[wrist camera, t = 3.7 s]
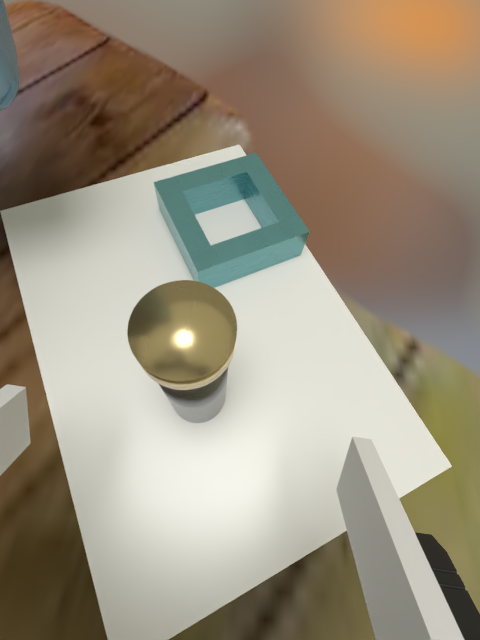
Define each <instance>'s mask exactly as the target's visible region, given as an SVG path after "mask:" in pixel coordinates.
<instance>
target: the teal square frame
mask: <svg viewBox="0 0 480 640" xmlns="http://www.w3.org/2000/svg"><path fill="white" fill-rule="evenodd" d="M154 187H155V192H156V196H157V201H158V205H159V210H160V212H161V214H162V216H163V218H164V220H165V222H166V224H167V226H168V228H169V230H170V233H171V235H172V237H173V239H174V241H175V243H176V245H177V247H178V249H179V251H180V253H181V255H182V257H183V259H184V262H185V264H186V266H187V268H188V270H189V272H190V274H191V276H192V278H193V280H194V281H198V282H201V283H205V284H207V285H209V286H211V287H213V288H215V287H218V286H221V285H223V284H226V283H229V282H231V281H234V280H237V279H239V278H242V277H245V276H247V275H250V274H252V273H255V272H258V271H260V270H263V269H266V268H268V267H271V266H274V265H276V264H279V263H282V262H284V261H287V260H290V259H292V258H295V257H298V256H300V255H301V253H302V251H303V248H304V245H305V242H306V240H307V237H308V235H309V230H308V229H307V227H306V226H305V224H304V223H303V221H302V220H301V218H300V217H299V215H298V214H297V212H296V211H295V209H294V208H293V206H292V205H291V204H290V203H289V201H288V199H287V198H286V196H285V195H284V193H283V192H282V190H281V189H280V187H279V186H278V184H277V183H276V181H275V180H274V179H273V177H272V176H271V174H270V173H269V171H268V170H267V168H266V167H265V165H264V164H263V163H262V161H261V159H260V158H259V156H258V155H257V153H253V154H250V155H246V156H243V157H239V158H236V159H233V160H229V161H226V162H222V163H219V164H215V165H212V166H208V167H205V168H201V169H198V170H194V171H191V172H187V173H184V174H180V175H177V176H173V177H170V178H166V179H163V180H159V181H156V182H154ZM243 199H244V200H245V201H246V203H247V205H248V206H249V208H250V209H251V211H252V213H253V214H254V216H255V218H256V219H257V221H258V222H259V224H260V226H261V227H262V228H260V229H257V230H254V231H251V232H248V233H246V234H243V235H240V236H237V237H234V238H231V239H228V240H225V241H222V242H219V243H217V244H214V245H210V243H209V241H208V239H207V238H206V236H205V234H204V232H203V230H202V228H201V226H200V224H199V222H198V221H197V219H196V217H195V215H196V214H199V213H202V212H205V211H208V210H211V209H215V208H218V207H221V206H224V205H227V204H230V203H233V202H237V201H240V200H243Z"/></svg>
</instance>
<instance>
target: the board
mask: <svg viewBox="0 0 480 640" xmlns="http://www.w3.org/2000/svg"><path fill="white" fill-rule="evenodd" d="M243 156H246V154H245V153H244V151H243V150H242V148H241V147H240V145H236V146H232V147H229V148H225V149H222V150H218V151H214V152H211V153H207V154H204V155H200V156H196V157H193V158H189V159H186V160H182V161H178V162H175V163H171V164H168V165H164V166H160V167H157V168H153V169H150V170H146V171H142V172H139V173H135V174H132V175H128V176H124V177H121V178H117V179H114V180H110V181H106V182H103V183H99V184H96V185H92V186H88V187H85V188H81V189H78V190H74V191H70V192H67V193H63V194H60V195H56V196H52V197H49V198H45V199H42V200H38V201H34V202H31V203H27V204H24V205H20V206H16V207H13V208H9V209H6V210H2V211H0V212H1V216H2V220H3V224H4V228H5V232H6V236H7V240H8V244H9V248H10V252H11V256H12V260H13V264H14V268H15V272H16V276H17V280H18V284H19V288H20V292H21V296H22V300H23V304H24V308H25V312H26V316H27V320H28V324H29V328H30V332H31V336H32V340H33V344H34V348H35V352H36V356H37V360H38V364H39V368H40V372H41V376H42V380H43V384H44V387H45V391H46V395H47V399H48V403H49V407H50V411H51V415H52V419H53V423H54V427H55V431H56V435H57V439H58V443H59V447H60V451H61V455H62V459H63V463H64V467H65V471H66V475H67V479H68V483H69V487H70V491H71V495H72V499H73V503H74V507H75V511H76V515H77V519H78V523H79V527H80V531H81V535H82V539H83V543H84V547H85V551H86V555H87V559H88V563H89V567H90V571H91V575H92V579H93V583H94V587H95V591H96V595H97V599H98V603H99V607H100V611H101V615H102V619H103V623H104V627H105V631H106V635H107V639H108V640H169V639H170V638H172V637H173V636H175V635H177V634H178V633H180V632H182V631H183V630H185V629H187V628H188V627H190V626H191V625H193V624H195V623H196V622H198V621H200V620H201V619H203V618H204V617H206V616H208V615H209V614H211V613H213V612H214V611H216V610H218V609H219V608H221V607H222V606H224V605H226V604H227V603H229V602H231V601H232V600H234V599H236V598H237V597H239V596H240V595H242V594H244V593H245V592H247V591H249V590H250V589H252V588H254V587H255V586H257V585H258V584H260V583H262V582H263V581H265V580H267V579H268V578H270V577H271V576H273V575H275V574H276V573H278V572H280V571H281V570H283V569H285V568H286V567H288V566H289V565H291V564H293V563H294V562H296V561H298V560H299V559H301V558H303V557H304V556H306V555H307V554H309V553H311V552H312V551H314V550H316V549H317V548H319V547H321V546H322V545H324V544H325V543H327V542H329V541H330V540H332V539H334V538H335V537H337V536H338V535H340V534H342V533H343V532H345V531H347V529H346V525H345V521H344V518H343V514H342V510H341V506H340V502H339V498H338V495H337V491H336V488H337V485H338V482H339V479H340V475H341V472H342V469H343V465H344V462H345V459H346V455H347V452H348V449H349V446H350V442H351V439H352V436H353V437H360V438H366V439H372V442H373V444H374V446H375V448H376V450H377V452H378V455H379V457H380V459H381V461H382V463H383V465H384V467H385V470H386V472H387V474H388V476H389V478H390V480H391V483H392V485H393V487H394V489H395V491H396V493H397V495H398V498H401V497H402V496H404V495H405V494H407V493H409V492H410V491H412V490H414V489H415V488H417V487H419V486H420V485H422V484H423V483H425V482H427V481H428V480H430V479H432V478H433V477H435V476H437V475H438V474H440V473H441V472H443V471H445V470H446V469H448V468H450V467H451V464H450V463H449V461H448V460H447V458H446V457H445V455H444V454H443V452H442V451H441V449H440V447H439V446H438V444H437V443H436V441H435V440H434V438H433V437H432V435H431V434H430V432H429V431H428V429H427V428H426V426H425V425H424V423H423V422H422V420H421V419H420V417H419V416H418V414H417V413H416V411H415V410H414V408H413V407H412V405H411V404H410V402H409V401H408V399H407V398H406V396H405V395H404V393H403V392H402V390H401V389H400V387H399V385H398V384H397V382H396V381H395V379H394V378H393V376H392V375H391V373H390V372H389V370H388V369H387V367H386V366H385V364H384V363H383V361H382V360H381V358H380V357H379V355H378V354H377V352H376V351H375V349H374V348H373V346H372V345H371V343H370V342H369V340H368V339H367V337H366V336H365V334H364V333H363V331H362V330H361V328H360V327H359V325H358V323H357V322H356V320H355V319H354V317H353V316H352V314H351V313H350V311H349V310H348V308H347V307H346V305H345V304H344V302H343V301H342V299H341V298H340V296H339V295H338V293H337V292H336V290H335V289H334V287H333V286H332V284H331V283H330V281H329V280H328V278H327V277H326V275H325V274H324V272H323V271H322V269H321V268H320V266H319V265H318V263H317V262H316V260H315V258H314V257H313V255H312V254H311V252H310V251H309V250H308V248H307V246H306V245H304V248H303V251H302V253H301V255H300V256H298V257H295V258H292V259H290V260H287V261H284V262H282V263H279V264H276V265H274V266H271V267H268V268H266V269H263V270H260V271H258V272H255V273H252V274H250V275H247V276H245V277H242V278H239V279H237V280H234V281H231V282H229V283H226V284H223V285H221V286H218V287H215V289H216V290H218V291H219V292H220V293H221V294H223V295H224V296H225V297H226V299H227V300H228V301H229V303H230V304H231V306H232V308H233V310H234V312H235V316H236V320H237V336H236V344H235V350H234V354H233V358H232V360H231V362H230V364H229V366H228V375H227V385H226V396H225V402H224V405H223V407H222V409H221V411H220V412H219V413H218V415H216V416H215V417H214V418H213V419H211V420H209V421H207V422H203V423H192V422H188V421H186V420H184V419H183V418H181V417H180V416H179V415H178V414H177V413H176V411H175V410H174V408H173V406H172V405H171V403H170V401H169V400H168V398H167V397H166V395H165V393H164V392H163V390H162V389H161V387H160V385H159V384H158V383H157V382H155V381H154V380H153V379H152V378H150V377H149V376H148V375H147V373H146V372H145V371H144V370H143V368H142V367H141V365H140V364H139V362H138V361H137V359H136V358H135V356H134V355H133V353H132V351H131V348H130V345H129V342H128V335H127V332H128V322H129V319H130V316H131V313H132V311H133V309H134V307H135V306H136V304H137V303H138V302H139V301H140V299H141V298H142V297H143V296H144V295H145V294H147V293H148V292H149V291H151V290H152V289H154V288H156V287H157V286H160V285H162V284H165V283H168V282H172V281H177V280H192V281H194V280H193V278H192V276H191V274H190V272H189V270H188V268H187V266H186V264H185V262H184V259H183V257H182V255H181V253H180V251H179V249H178V247H177V245H176V243H175V241H174V239H173V237H172V235H171V233H170V230H169V228H168V226H167V224H166V222H165V220H164V218H163V216H162V214H161V212H160V210H159V205H158V201H157V196H156V192H155V187H154V182H156V181H159V180H163V179H166V178H170V177H173V176H177V175H180V174H184V173H187V172H191V171H194V170H198V169H201V168H205V167H208V166H212V165H215V164H219V163H222V162H226V161H229V160H233V159H236V158H239V157H243ZM195 217H196V219H197V221H198V222H199V224H200V226H201V228H202V230H203V232H204V234H205V236H206V238H207V239H208V241H209V243H210V245H214V244H217V243H219V242H222V241H225V240H228V239H231V238H234V237H237V236H240V235H243V234H246V233H248V232H251V231H254V230H257V229H260V228H262V227H261V226H260V224H259V222H258V221H257V219H256V218H255V216H254V214H253V213H252V211H251V209H250V208H249V206H248V205H247V203H246V201H245V200H244V199H243V200H240V201H237V202H233V203H230V204H227V205H224V206H221V207H218V208H215V209H211V210H208V211H205V212H202V213H199V214H196V215H195Z"/></svg>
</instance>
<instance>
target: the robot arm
mask: <svg viewBox="0 0 480 640" xmlns="http://www.w3.org/2000/svg"><path fill="white" fill-rule="evenodd" d="M18 88H19V67H18V60H17V54H16V49H15V44H14V40H13V36H12V32H11V28H10V24H9V20H8V16H7V12H6V8H5V4H4V1H3V0H0V110H3V109H5V108H6V107H8V106H9V105H10V104H11V103H12V102H13V100H14V99H15V97H16V94H17V91H18ZM29 444H30V431H29V419H28V407H27V396H26V387H21V386H14V385H8V384H7V385H5V386H4V387H3V388H1V389H0V475H1V474H2V473H3V472H4V471H5V470H6V469H7V468H8V467H9V466H10V465H11V464H12V463H13V462H14V460H15V459H16V458H17V457H18V456H19V455H20V454H21V453H22V452H23V451H24V450H25V449H26V448H27V447H28V446H29ZM336 491H337V495H338V498H339V502H340V506H341V510H342V514H343V518H344V521H345V525H346V529H347V533H348V537H349V540H350V544H351V548H352V552H353V556H354V559H355V563H356V567H357V571H358V575H359V578H360V582H361V586H362V590H363V594H364V598H365V601H366V605H367V609H368V613H369V617H370V620H371V624H372V628H373V632H374V636H375V639H376V640H480V614H479V612H478V610H477V608H476V607H475V605H474V603H473V601H472V599H471V597H470V595H469V593H468V591H466V590H465V586H464V584H463V582H462V580H461V578H460V576H459V575H458V574H457V572H456V569H455V567H454V565H453V563H452V561H451V559H450V557H449V556H448V554H447V552H446V551H445V550H444V548H443V547H442V546H441V545H440V544H439V543H438V542H437V541H436V539H435V538H434V537H433V536H432V535H429V534H422V533H416V532H414V530H413V528H412V526H411V524H410V521H409V519H408V517H407V515H406V513H405V511H404V508H403V506H402V504H401V502H400V500H399V498H398V495H397V493H396V491H395V489H394V487H393V485H392V483H391V480H390V478H389V476H388V474H387V472H386V470H385V467H384V465H383V463H382V461H381V459H380V457H379V455H378V452H377V450H376V448H375V446H374V444H373V442H372V439H366V438H360V437H353V436H352V439H351V442H350V446H349V449H348V452H347V455H346V459H345V462H344V465H343V469H342V472H341V475H340V479H339V482H338V485H337V488H336Z"/></svg>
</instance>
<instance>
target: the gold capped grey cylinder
mask: <svg viewBox="0 0 480 640" xmlns="http://www.w3.org/2000/svg"><path fill="white" fill-rule="evenodd" d="M127 335H128V342H129V345H130V348H131V351H132V353H133V355H134V356H135V358H136V359H137V361H138V362H139V364H140V365H141V367H142V368H143V370H144V371H145V372H146V373H147V375H148V376H149V377H150V378H152V379H153V380H154V381H155V382H157V383H158V384H159V385H160V387H161V389H162V390H163V392H164V393H165V395H166V397H167V398H168V400H169V401H170V403H171V405H172V406H173V408H174V410H175V411H176V413H177V414H178V415H179V416H180V417H181V418H183V419H184V420H186V421H188V422H192V423H203V422H207V421H209V420H211V419H213V418H214V417H215V416H216V415H218V413H219V412H220V411H221V409H222V407H223V405H224V402H225V396H226V385H227V375H228V366H229V364H230V362H231V360H232V358H233V354H234V350H235V344H236V336H237V320H236V316H235V312H234V310H233V308H232V306H231V304H230V303H229V301H228V300H227V299H226V297H225V296H224V295H223V294H221V293H220V292H219V291H218V290H216V289H215V288H213V287H211V286H209V285H207V284H205V283H201V282H198V281H192V280H177V281H172V282H168V283H165V284H162V285H160V286H157V287H156V288H154V289H152V290H151V291H149V292H148V293H147V294H145V295H144V296H143V297H142V298H141V299H140V301H139V302H138V303H137V304H136V306H135V307H134V309H133V311H132V313H131V316H130V319H129V322H128V332H127Z"/></svg>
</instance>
